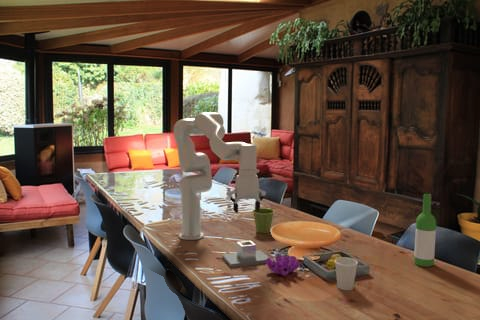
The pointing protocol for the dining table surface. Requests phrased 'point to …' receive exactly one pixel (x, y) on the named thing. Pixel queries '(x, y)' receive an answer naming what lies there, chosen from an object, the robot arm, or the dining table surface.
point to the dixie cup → (345, 272)
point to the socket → (246, 250)
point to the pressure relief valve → (332, 261)
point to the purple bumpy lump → (283, 264)
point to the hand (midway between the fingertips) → (246, 211)
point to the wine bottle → (425, 235)
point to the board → (237, 262)
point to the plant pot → (263, 219)
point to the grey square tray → (331, 274)
